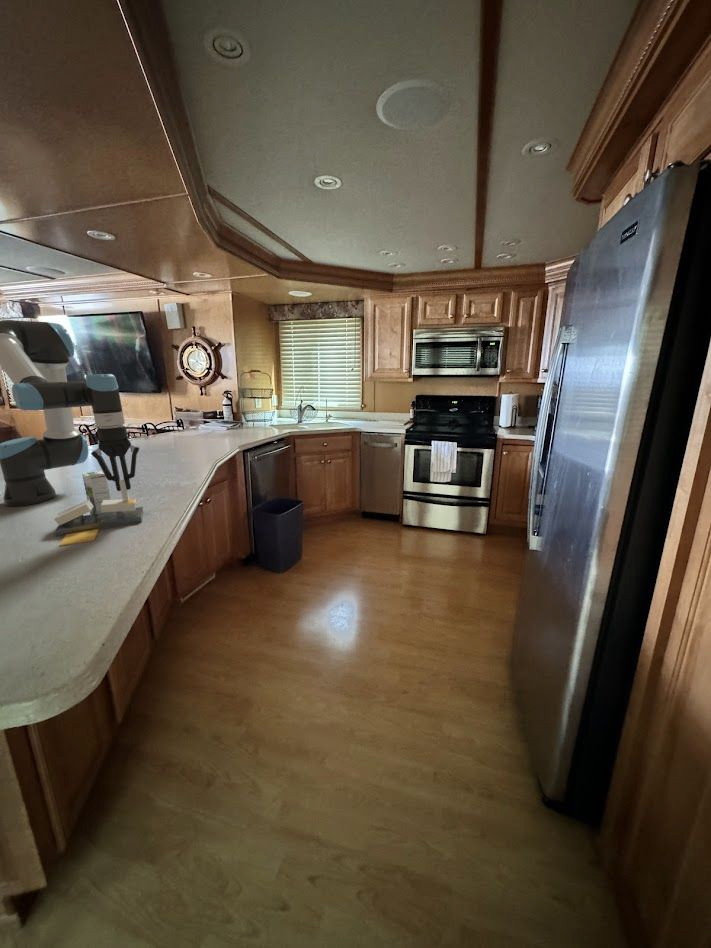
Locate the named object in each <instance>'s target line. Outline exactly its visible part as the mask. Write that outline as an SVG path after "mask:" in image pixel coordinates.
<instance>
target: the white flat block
mask: <svg viewBox="0 0 711 948" xmlns="http://www.w3.org/2000/svg"><path fill="white" fill-rule="evenodd" d="M92 508H93V504H92V503H91V502H90V500H86V501H83V502H81V503H79V504H76V505H74V506H72V507H70V508H67V509H66V510H63V511H61V512H59V513H58V514H56V516H55V517H54V518H53V519H54V521H55V522H56V523H57V526H58V525H59V526H60V525H62V524H64V523H66V522H68V521H70V520H72V519H75V518H77V517H79V516H81V515H83V516H84V515H85V514H87V513H90V511H91V510H92Z"/></svg>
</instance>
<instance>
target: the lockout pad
mask: <svg viewBox="0 0 711 948" xmlns="http://www.w3.org/2000/svg"><path fill="white" fill-rule="evenodd" d="M99 530H100V529H95V530H89V531H83V532H77V533H71V534H66V535H64V537H63V539H62V540H61V542H60V544H59V547H64V546H70V545H76V544H81V543H87V542H91V541H95V539H96V537H97V535H98V533H99Z"/></svg>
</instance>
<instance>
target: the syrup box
mask: <svg viewBox="0 0 711 948" xmlns="http://www.w3.org/2000/svg"><path fill="white" fill-rule="evenodd" d="M81 474H82V480H83V485H84V489H85V495H86V499H87V500H90V502H91V503H92V504H93V508H92V510H91V511H90V512H89V515H92V514H98V513H105V512H101V504H102V502H103V500H112V498H111V494H110V489H109V483H108V480H107V478H106V476H105V474H104V472H103V470H94V471H93V470H92V471H87V472H84V473H81ZM87 500H86V501H87Z"/></svg>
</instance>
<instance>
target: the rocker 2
mask: <svg viewBox="0 0 711 948" xmlns="http://www.w3.org/2000/svg"><path fill="white" fill-rule="evenodd" d="M136 508H137V499H136V498H129V500H128V501H123V498H122V499H121V498H120V499H111V500H103V502H102V504H101V512H117V511H135V509H136Z"/></svg>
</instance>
